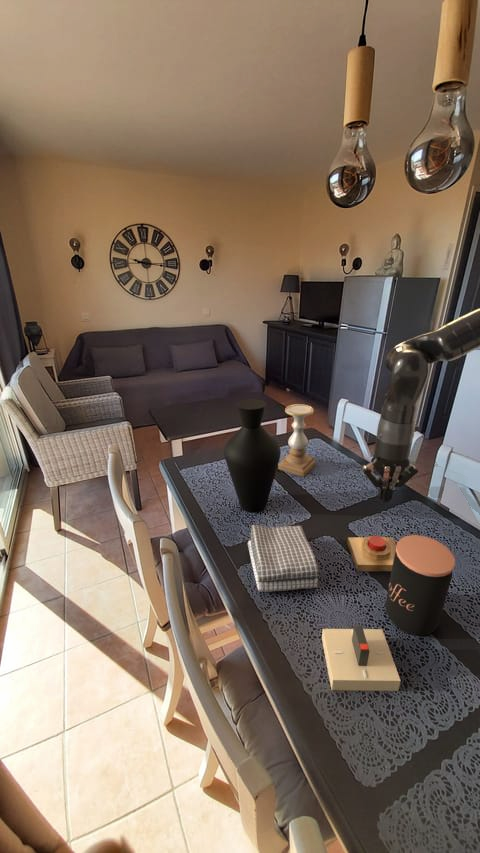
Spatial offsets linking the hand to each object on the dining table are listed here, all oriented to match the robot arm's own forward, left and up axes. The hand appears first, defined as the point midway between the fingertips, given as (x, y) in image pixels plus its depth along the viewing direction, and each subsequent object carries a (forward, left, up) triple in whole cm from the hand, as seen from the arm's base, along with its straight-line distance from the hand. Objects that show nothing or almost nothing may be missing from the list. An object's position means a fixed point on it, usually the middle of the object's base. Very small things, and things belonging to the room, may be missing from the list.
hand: (383, 500), depth 88 cm
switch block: (0, 0, -18) cm, 18 cm away
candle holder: (+15, -47, -18) cm, 53 cm away
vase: (+32, -23, -18) cm, 43 cm away
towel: (+25, +3, -18) cm, 31 cm away
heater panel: (+12, +28, -18) cm, 35 cm away
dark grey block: (+12, +28, -15) cm, 34 cm away
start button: (0, 0, -14) cm, 14 cm away
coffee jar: (-2, +18, -18) cm, 25 cm away
